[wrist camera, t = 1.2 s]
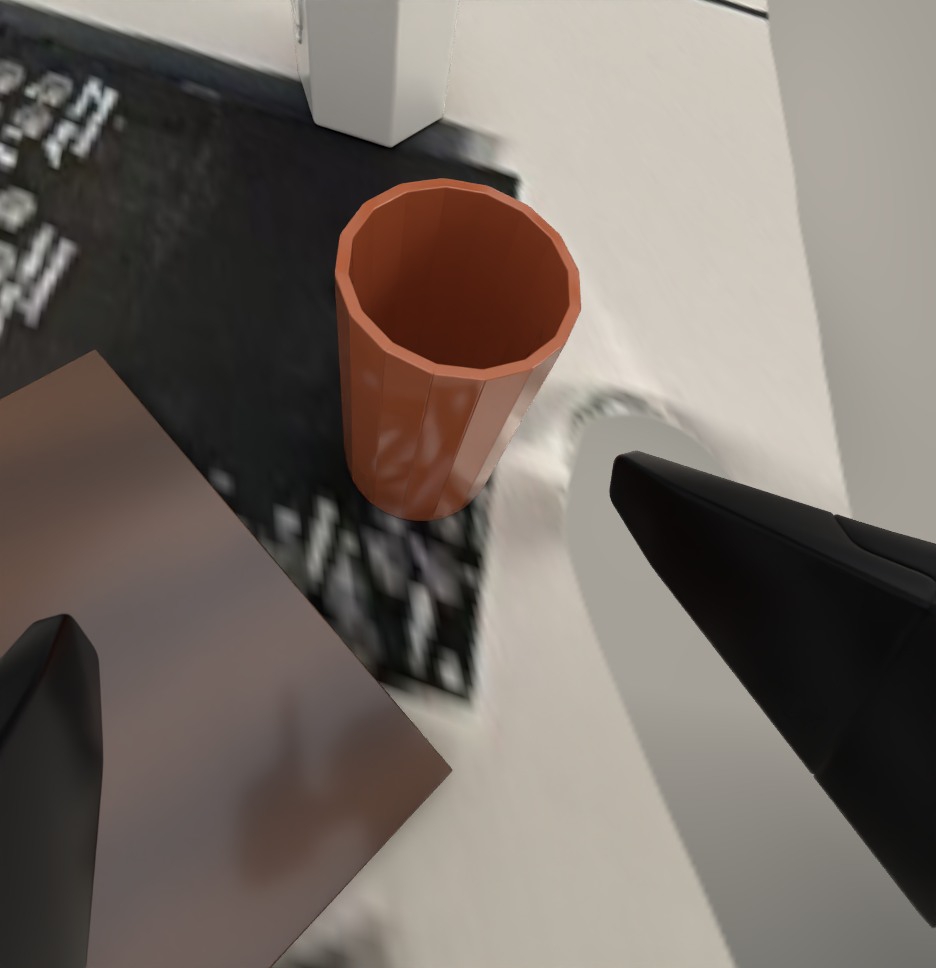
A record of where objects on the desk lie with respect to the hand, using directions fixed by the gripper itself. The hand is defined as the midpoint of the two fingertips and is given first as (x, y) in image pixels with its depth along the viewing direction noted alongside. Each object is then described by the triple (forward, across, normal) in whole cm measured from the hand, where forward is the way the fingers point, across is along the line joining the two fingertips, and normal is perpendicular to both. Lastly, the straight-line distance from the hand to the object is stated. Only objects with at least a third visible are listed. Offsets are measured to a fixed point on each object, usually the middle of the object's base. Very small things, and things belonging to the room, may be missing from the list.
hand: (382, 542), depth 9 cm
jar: (+34, -9, -4) cm, 35 cm away
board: (+9, +10, +12) cm, 18 cm away
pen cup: (+14, -5, +8) cm, 17 cm away
